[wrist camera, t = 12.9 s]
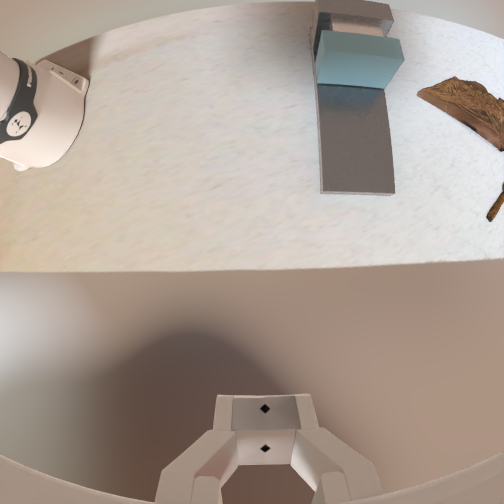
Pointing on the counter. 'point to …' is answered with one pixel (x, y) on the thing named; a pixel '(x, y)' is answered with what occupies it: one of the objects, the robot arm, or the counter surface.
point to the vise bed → (352, 114)
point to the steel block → (355, 27)
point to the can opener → (496, 207)
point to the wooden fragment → (469, 107)
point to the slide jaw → (357, 59)
